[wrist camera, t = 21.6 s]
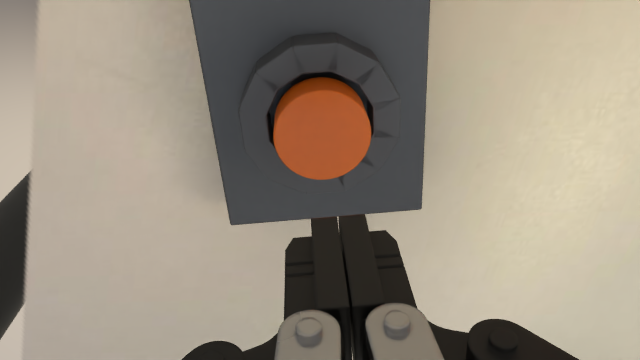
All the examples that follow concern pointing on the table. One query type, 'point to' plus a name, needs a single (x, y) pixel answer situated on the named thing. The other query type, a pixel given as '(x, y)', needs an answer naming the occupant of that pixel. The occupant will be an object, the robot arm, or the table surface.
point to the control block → (304, 63)
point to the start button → (321, 128)
